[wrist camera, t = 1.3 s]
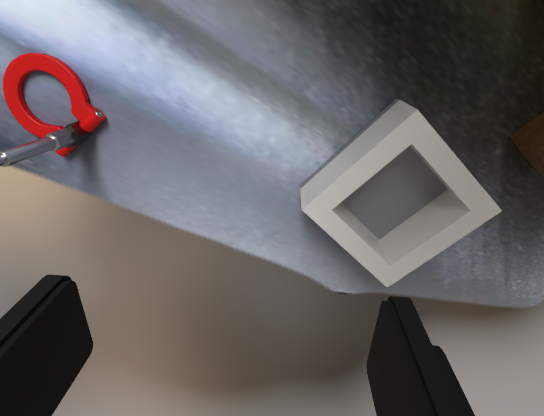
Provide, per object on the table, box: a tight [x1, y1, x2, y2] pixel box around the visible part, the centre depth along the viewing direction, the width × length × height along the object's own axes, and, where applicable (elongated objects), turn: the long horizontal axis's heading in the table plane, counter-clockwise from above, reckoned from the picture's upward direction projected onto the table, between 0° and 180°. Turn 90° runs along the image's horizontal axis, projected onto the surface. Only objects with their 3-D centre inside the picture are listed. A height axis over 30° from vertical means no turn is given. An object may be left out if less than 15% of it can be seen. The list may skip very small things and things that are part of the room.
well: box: [300, 98, 502, 288], centre depth 34 cm, size 13×13×6 cm
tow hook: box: [0, 53, 105, 167], centre depth 29 cm, size 8×13×9 cm
